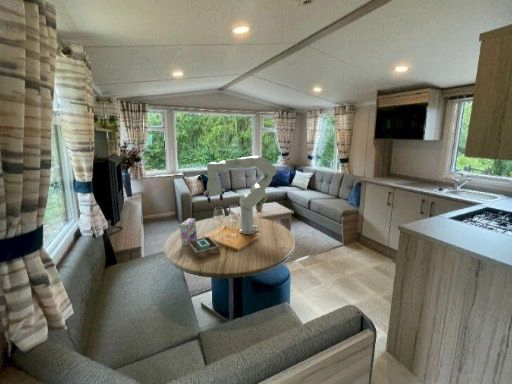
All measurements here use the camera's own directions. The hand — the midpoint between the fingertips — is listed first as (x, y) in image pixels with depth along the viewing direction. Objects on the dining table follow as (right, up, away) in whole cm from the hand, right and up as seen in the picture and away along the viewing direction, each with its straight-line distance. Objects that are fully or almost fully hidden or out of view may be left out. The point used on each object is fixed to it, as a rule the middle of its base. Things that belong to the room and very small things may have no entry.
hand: (215, 201), depth 192 cm
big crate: (-5, -33, -18) cm, 38 cm away
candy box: (-18, -30, -4) cm, 36 cm away
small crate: (-5, -32, -18) cm, 37 cm away
